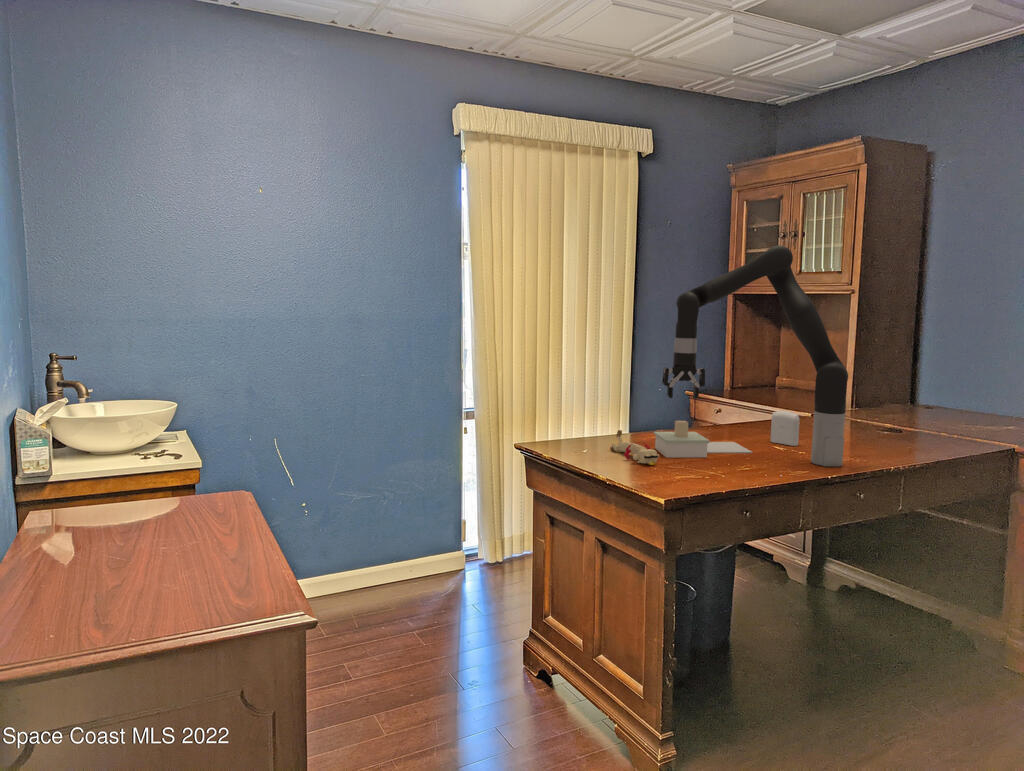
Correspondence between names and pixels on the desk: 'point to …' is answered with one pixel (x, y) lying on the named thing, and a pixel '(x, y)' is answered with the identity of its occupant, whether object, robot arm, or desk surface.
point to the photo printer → (785, 428)
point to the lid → (681, 435)
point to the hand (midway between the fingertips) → (682, 398)
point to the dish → (681, 449)
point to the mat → (726, 448)
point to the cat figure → (635, 451)
